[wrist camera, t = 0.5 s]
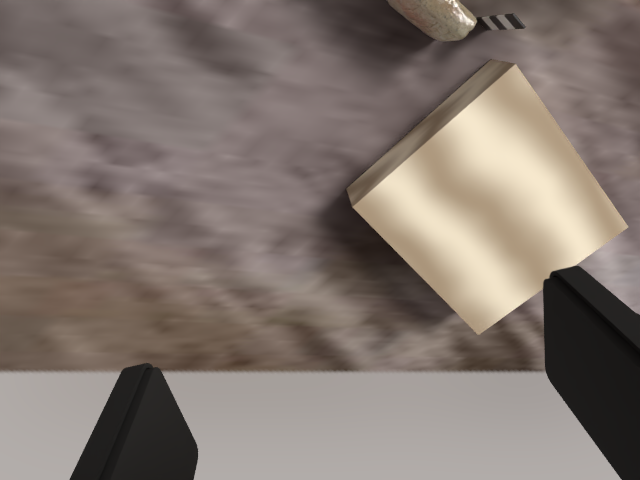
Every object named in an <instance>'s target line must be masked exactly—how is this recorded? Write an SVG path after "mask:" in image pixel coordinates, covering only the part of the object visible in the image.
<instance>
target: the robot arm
mask: <svg viewBox="0 0 640 480" xmlns="http://www.w3.org/2000/svg"><path fill="white" fill-rule="evenodd" d="M543 301H544V342H545V369H546V373H547V376H548V378H549V380H550V382H551V383H552V385H553V386H554V387H555V389H556V390H557V392H558V393H559V394H560V396H561V397H562V398H563V400H564V401H565V403H566V404H567V405H568V407H569V408H570V409H571V411H572V412H573V414H574V415H575V416H576V418H577V419H578V420H579V422H580V423H581V425H582V426H583V427H584V429H585V430H586V431H587V433H588V434H589V435H590V437H591V438H592V440H593V441H594V442H595V444H596V445H597V446H598V448H599V449H600V451H601V452H602V453H603V454H604V456H605V457H606V459H607V460H608V462H609V463H610V464H611V466H612V467H613V468H614V470H615V471H616V472H617V474H618V475H619V477H620V478H621V479H622V480H640V315H639V314H637V313H635V312H634V311H633V310H631V309H630V308H629V307H628V306H627V305H625V304H624V303H623V302H622V301H621V300H619V299H618V298H617V297H616V296H615V295H613V294H612V293H611V292H610V291H609V290H607V289H606V288H605V287H604V286H603V285H601V284H600V283H599V282H598V281H597V280H595V279H594V278H593V277H592V276H591V275H589V274H588V273H587V272H586V271H585V270H583V269H582V268H581V267H579V266H572V267H568V268H564V269H559V270H555V271H552V272H551V273H550V276H549V278H548V279H545V280H544V282H543ZM197 460H198V448H197V444H196V442H195V440H194V438H193V436H192V433H191V432H190V429H189V427H188V425H187V423H186V421H185V420H184V417H183V415H182V413H181V411H180V409H179V407H178V405H177V403H176V401H175V399H174V397H173V394H172V393H171V390H170V388H169V386H168V384H167V382H166V380H165V378H164V376H163V374H162V372H161V370H160V369H159V368H158V367H155V368H153V366H152V365H151V364H149V363H145V364H141V365H136V366H132V367H127V368H125V369H123V370H122V372H121V374H120V376H119V378H118V380H117V382H116V384H115V387H114V388H113V390H112V392H111V394H110V397H109V399H108V401H107V403H106V405H105V407H104V409H103V411H102V413H101V415H100V417H99V420H98V422H97V424H96V426H95V428H94V430H93V432H92V434H91V436H90V438H89V440H88V442H87V444H86V447H85V449H84V451H83V453H82V455H81V457H80V459H79V461H78V463H77V465H76V467H75V469H74V471H73V473H72V476H71V478H70V480H193V479H194V475H195V470H196V465H197Z"/></svg>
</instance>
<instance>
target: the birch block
mask: <svg viewBox="0 0 640 480" xmlns="http://www.w3.org/2000/svg"><path fill="white" fill-rule="evenodd" d="M346 190H347V193H348V196H349V198H350V201H351V204H352V207H353V208H354V209H355V210H356V211H357V212H358V213H359V214H360V215H361V216H362V217H363V218H364V219H365V220H366V221H367V222H368V223H369V224H370V225H371V226H372V227H373V228H374V229H375V230H376V231H377V233H378V234H379V235H380V236H381V237H382V238H383V239H384V240H385V241H386V242H387V243H388V244H389V245H390V246H391V247H392V248H393V249H394V250H395V251H396V252H397V253H398V254H399V255H400V256H401V257H402V258H403V259H404V260H405V261H406V262H407V263H408V264H409V265H410V266H411V267H412V268H413V269H414V270H415V271H416V272H417V273H418V274H419V275H420V276H421V277H422V278H423V279H424V280H425V281H426V282H427V283H428V284H429V285H430V286H431V287H432V288H433V289H434V290H435V291H436V292H437V293H438V294H439V296H440V297H441V298H442V299H443V300H444V301H445V302H446V303H447V304H448V305H449V306H450V307H451V308H452V309H453V310H454V311H455V312H456V313H457V314H458V315H459V316H460V317H461V318H462V319H463V320H464V321H465V322H466V323H467V324H468V325H469V326H470V327H471V328H472V329H473V330H474V331H475V332H476V333H477V334H478V335H479V334H480V333H482V332H483V331H485V330H486V329H487V328H489V327H490V326H492V325H493V324H494V323H496V322H497V321H499V320H500V319H501V318H503V317H504V316H505V315H507V314H508V313H510V312H511V311H512V310H514V309H515V308H517V307H518V306H519V305H521V304H522V303H524V302H525V301H526V300H528V299H529V298H531V297H532V296H533V295H535V294H536V293H537V292H539V291H540V290H542V289H543V282H544V280H545V279H548V278H549V276H550V273H551V272H552V271H555V270H559V269H564V268H568V267H572V266H575V265H576V264H578V263H579V262H581V261H582V260H583V259H585V258H586V257H588V256H589V255H590V254H592V253H593V252H594V251H596V250H597V249H599V248H600V247H601V246H603V245H604V244H606V243H607V242H608V241H610V240H611V239H613V238H614V237H615V236H617V235H618V234H619V233H621V232H622V231H624V230H625V229H626V228H628V226H627V224H626V223H625V221H624V220H623V219H622V217H621V216H620V214H619V213H618V211H617V210H616V208H615V207H614V206H613V204H612V203H611V201H610V200H609V198H608V197H607V195H606V194H605V193H604V191H603V190H602V188H601V187H600V185H599V184H598V182H597V181H596V179H595V178H594V177H593V175H592V174H591V172H590V171H589V169H588V168H587V166H586V165H585V164H584V162H583V161H582V159H581V158H580V156H579V155H578V153H577V152H576V151H575V149H574V148H573V146H572V145H571V143H570V142H569V140H568V139H567V137H566V136H565V135H564V133H563V132H562V130H561V129H560V127H559V126H558V124H557V123H556V122H555V120H554V119H553V117H552V116H551V114H550V113H549V111H548V110H547V109H546V107H545V106H544V104H543V103H542V101H541V100H540V98H539V97H538V96H537V94H536V93H535V91H534V90H533V88H532V87H531V85H530V84H529V82H528V81H527V80H526V78H525V77H524V75H523V74H522V72H521V71H520V69H519V68H518V67H517V65H516V64H514V63H508V62H503V61H498V60H492V59H491V60H490V61H489V62H488V63H486V64H485V65H484V66H483V67H482V68H481V69H480V70H479V71H477V72H476V73H475V74H474V75H473V76H472V77H471V78H470V79H469V80H467V81H466V82H465V83H464V84H463V85H462V86H461V87H460V88H458V89H457V90H456V91H455V92H454V93H453V94H452V95H451V96H450V97H448V98H447V99H446V100H445V101H444V102H443V103H442V104H441V105H439V106H438V107H437V108H436V109H435V110H434V111H433V112H432V113H430V114H429V115H428V116H427V117H426V118H425V119H424V120H423V121H422V122H420V123H419V124H418V125H417V126H416V127H415V128H414V129H413V130H411V131H410V132H409V133H408V134H407V135H406V136H405V137H404V138H403V139H401V140H400V141H399V142H398V143H397V144H396V145H395V146H394V147H392V148H391V149H390V150H389V151H388V152H387V153H386V154H385V155H384V156H382V157H381V158H380V159H379V160H378V161H377V162H376V163H375V164H373V165H372V166H371V167H370V168H369V169H368V170H367V171H366V172H365V173H363V174H362V175H361V176H360V177H359V178H358V179H357V180H356V181H354V182H353V183H352V184H351V185H350V186H349V187H348V188H347V189H346Z"/></svg>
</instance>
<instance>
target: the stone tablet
mask: <svg viewBox="0 0 640 480" xmlns="http://www.w3.org/2000/svg"><path fill="white" fill-rule="evenodd" d="M386 1H387V2H388V3H389V5H390V6H391V7H392V8H394V9H395V10H396V11H397V12H398V13H400V14H401V15H403V16H404V17H405V18H406V19H407V20H409V21H410V22H411V23H412V24H414V25H415V26H416V27H417V28H419V29H421V30H422V32H424V33H425V34H426V35H428V36H430V37H431V38H434V39H435V40H438V41H442V42H446V41H458V40H461V39H463V38H465V37H466V36H467V35H468V33H469V32H470V31H471V30H472V29H473V28H474V27H475V25H476V23H477V21H478V22H479V23H480V24H481V25H482V26H483V28H484V29H485V30H506V29H524V28H525V26H524V24H523V23H522V22H521V21H520V20H519V19H518V17H517V16H516V15H515V14H514V13H513V14H504V15H495V16H486V17H478V18H476V17H474V16H473V15H472V13H471V12H470V11H469V10H467V9H466V8H465V6H463V5H462V4H461V3H460V2H459V0H386Z"/></svg>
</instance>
